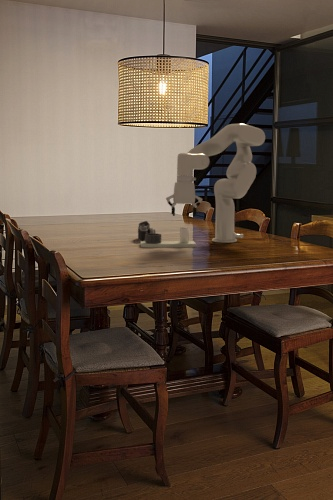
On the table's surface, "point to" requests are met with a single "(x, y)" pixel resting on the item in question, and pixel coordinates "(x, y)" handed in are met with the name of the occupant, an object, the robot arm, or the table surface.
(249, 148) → the robot arm
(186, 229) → the cylinder
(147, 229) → the camera
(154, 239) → the black faceted cup
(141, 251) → the table surface
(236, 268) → the table surface
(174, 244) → the board
